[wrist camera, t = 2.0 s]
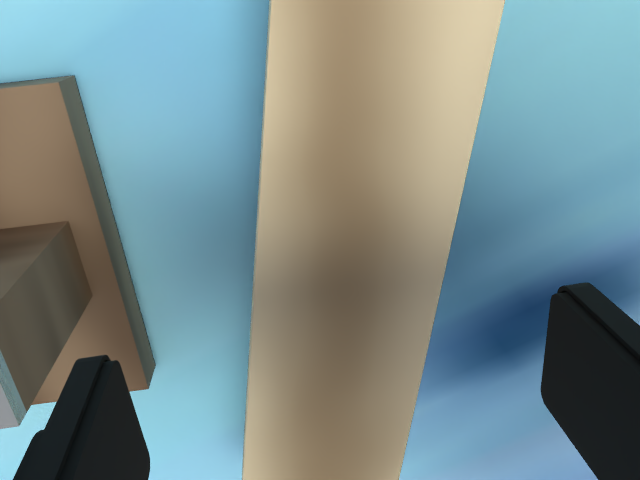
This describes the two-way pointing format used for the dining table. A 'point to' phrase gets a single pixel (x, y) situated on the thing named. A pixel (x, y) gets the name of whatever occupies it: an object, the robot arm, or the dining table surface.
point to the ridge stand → (58, 253)
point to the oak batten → (355, 223)
